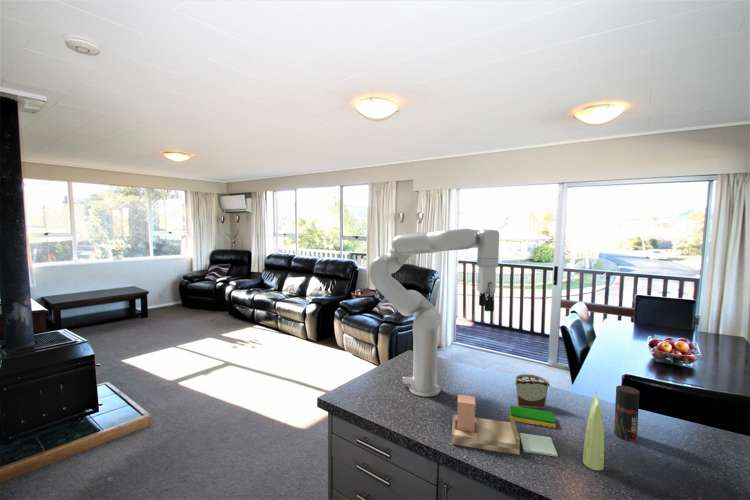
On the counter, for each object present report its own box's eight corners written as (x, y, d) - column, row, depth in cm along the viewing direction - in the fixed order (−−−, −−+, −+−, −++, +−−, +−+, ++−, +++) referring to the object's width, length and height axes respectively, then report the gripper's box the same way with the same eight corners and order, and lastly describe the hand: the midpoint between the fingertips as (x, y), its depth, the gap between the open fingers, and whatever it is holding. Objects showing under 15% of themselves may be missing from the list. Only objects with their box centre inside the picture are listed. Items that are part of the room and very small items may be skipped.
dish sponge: (509, 411, 127) (509, 404, 127) (552, 418, 122) (552, 412, 122) (510, 421, 120) (510, 414, 120) (555, 429, 116) (555, 422, 116)
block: (456, 433, 109) (457, 401, 108) (457, 424, 114) (458, 394, 113) (474, 436, 108) (475, 404, 107) (473, 427, 113) (474, 396, 112)
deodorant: (630, 443, 108) (632, 395, 107) (610, 433, 113) (612, 387, 112) (640, 438, 110) (643, 391, 110) (620, 429, 116) (622, 384, 115)
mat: (523, 451, 103) (523, 449, 103) (519, 434, 112) (519, 432, 112) (557, 456, 101) (557, 454, 101) (550, 439, 109) (550, 437, 109)
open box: (451, 444, 106) (451, 429, 106) (453, 423, 118) (453, 410, 117) (519, 454, 101) (519, 439, 101) (513, 432, 113) (514, 418, 113)
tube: (610, 471, 95) (613, 400, 94) (594, 474, 94) (598, 401, 93) (593, 458, 100) (596, 390, 99) (577, 460, 99) (580, 392, 98)
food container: (542, 400, 135) (543, 374, 135) (548, 408, 129) (550, 381, 129) (509, 398, 136) (510, 372, 136) (514, 406, 130) (515, 379, 130)
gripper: (473, 260, 141) (471, 303, 142) (482, 264, 124) (480, 313, 124) (492, 261, 140) (490, 304, 141) (504, 265, 123) (502, 313, 124)
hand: (486, 308), depth 133 cm, fingers open, 9 cm apart
